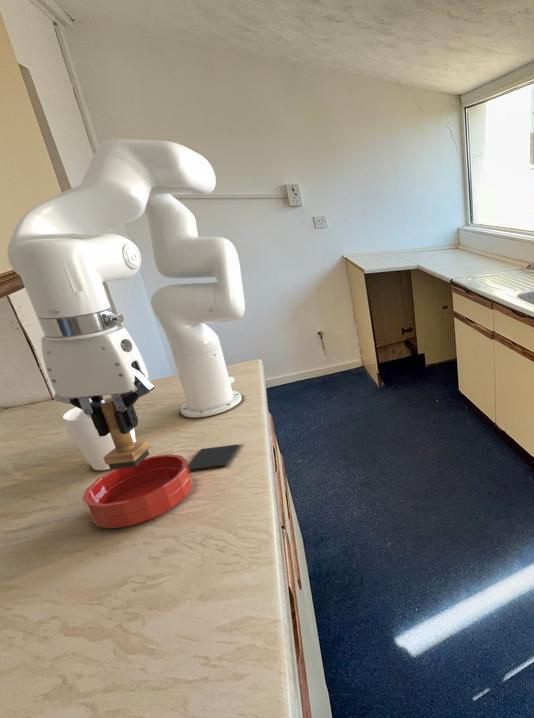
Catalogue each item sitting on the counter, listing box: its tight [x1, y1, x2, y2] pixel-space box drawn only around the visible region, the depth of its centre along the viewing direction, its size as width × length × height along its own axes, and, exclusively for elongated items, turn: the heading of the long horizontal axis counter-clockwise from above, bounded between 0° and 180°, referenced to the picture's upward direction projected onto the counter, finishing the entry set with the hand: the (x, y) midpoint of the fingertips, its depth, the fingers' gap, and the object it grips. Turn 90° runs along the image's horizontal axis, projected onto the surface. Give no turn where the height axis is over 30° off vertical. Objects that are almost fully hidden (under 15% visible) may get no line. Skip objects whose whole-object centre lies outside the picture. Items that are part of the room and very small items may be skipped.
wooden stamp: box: [99, 397, 150, 471], centre depth 65 cm, size 4×4×12 cm
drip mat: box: [188, 444, 240, 472], centre depth 81 cm, size 7×7×1 cm
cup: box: [62, 406, 137, 471], centre depth 79 cm, size 9×9×12 cm
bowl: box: [82, 453, 194, 529], centre depth 69 cm, size 13×13×5 cm
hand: (119, 429), depth 65 cm, fingers closed on wooden stamp, 2 cm apart
